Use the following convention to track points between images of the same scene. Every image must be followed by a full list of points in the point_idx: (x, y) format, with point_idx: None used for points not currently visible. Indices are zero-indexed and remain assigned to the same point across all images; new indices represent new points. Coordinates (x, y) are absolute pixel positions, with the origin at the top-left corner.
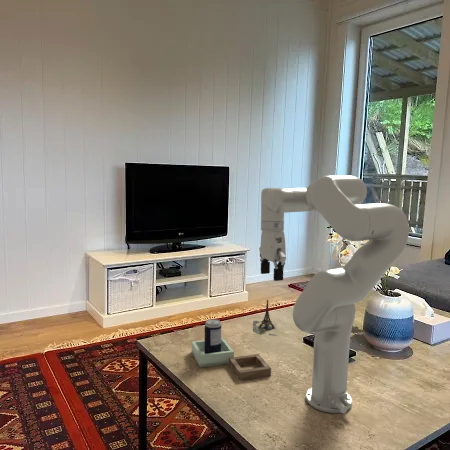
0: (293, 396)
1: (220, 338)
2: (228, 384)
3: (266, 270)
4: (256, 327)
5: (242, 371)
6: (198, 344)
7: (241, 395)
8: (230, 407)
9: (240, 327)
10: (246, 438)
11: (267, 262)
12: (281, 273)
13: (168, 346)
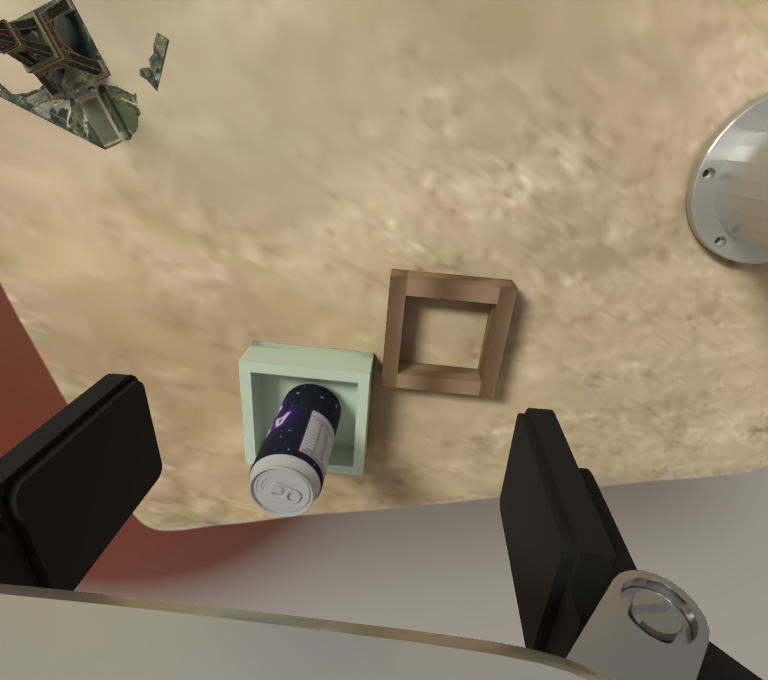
0: (667, 279)
1: (321, 428)
2: (494, 418)
3: (127, 446)
4: (53, 105)
5: (490, 387)
6: (258, 441)
7: (567, 411)
8: (602, 456)
9: (49, 186)
10: (733, 473)
11: (10, 524)
12: (609, 525)
13: (199, 479)
